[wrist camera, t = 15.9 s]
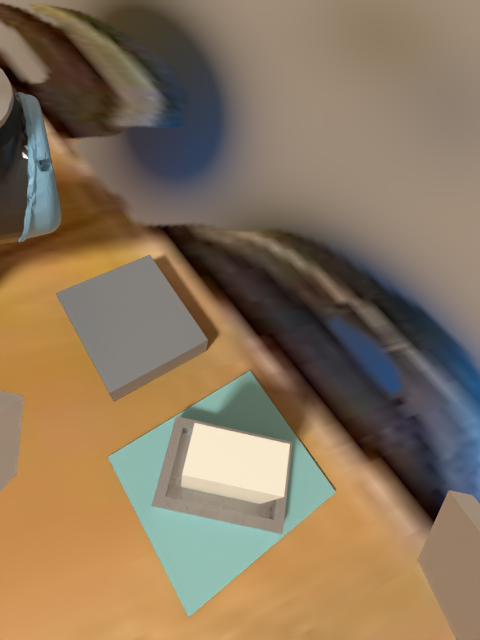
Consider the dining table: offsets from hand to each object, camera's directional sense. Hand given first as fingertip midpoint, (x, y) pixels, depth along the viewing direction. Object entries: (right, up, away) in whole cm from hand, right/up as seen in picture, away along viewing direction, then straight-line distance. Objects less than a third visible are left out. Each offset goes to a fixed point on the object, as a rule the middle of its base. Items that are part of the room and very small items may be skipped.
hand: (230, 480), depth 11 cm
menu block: (-1, -11, +27) cm, 29 cm away
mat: (-1, -11, +28) cm, 30 cm away
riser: (-13, +4, +34) cm, 37 cm away
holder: (-1, -11, +28) cm, 30 cm away
